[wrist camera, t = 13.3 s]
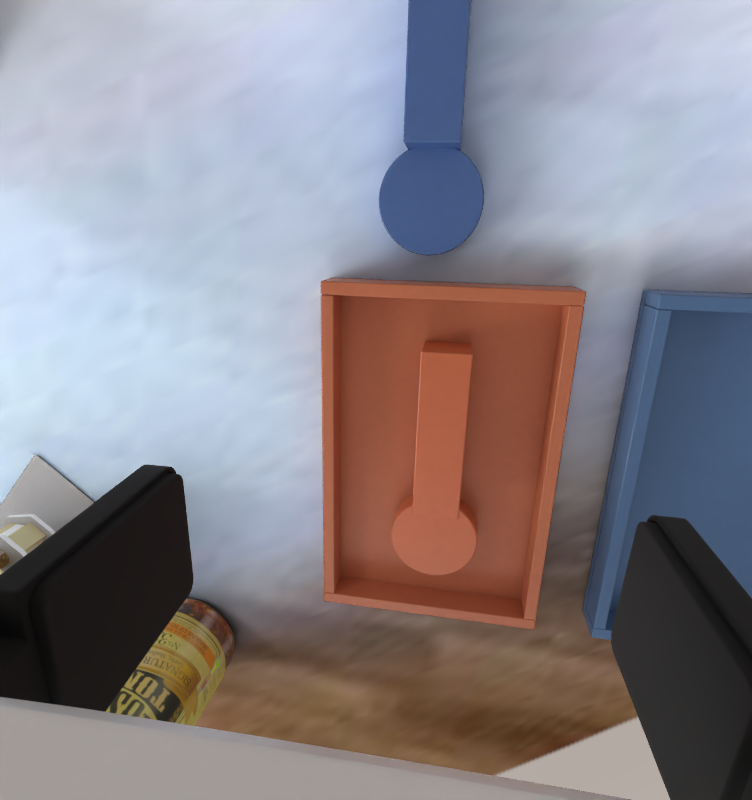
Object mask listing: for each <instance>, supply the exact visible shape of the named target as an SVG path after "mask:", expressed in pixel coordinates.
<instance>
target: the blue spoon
mask: <svg viewBox="0 0 752 800" xmlns="http://www.w3.org/2000/svg"><path fill="white" fill-rule="evenodd" d="M470 11H471V0H409V8H408V35H407V62H406V89H405V116H404V143H405V145H406V147H407V148H408V150H407V151H406V152H404V153H403V154H401V155H400V156H399V157H398V158H397V159H396V160H395V161H394V162H393V163H392V165H391V166H390V167H389V169H388V171H387V172H386V174H385V176H384V179H383V182H382V185H381V189H380V195H379V209H380V215H381V218H382V221H383V224H384V226H385V228H386V230H387V232H388V233H389V235H390V236H391V237H392V238H393V239H394V240H395V241H396V242H397V243H398V244H399V245H400V246H402V247H403V248H405V249H407V250H408V251H411V252H414V253H417V254H422V255H436V254H441V253H445V252H448V251H450V250H452V249H454V248H456V247H457V246H459V245H460V244H461V243H463V242H464V241H465V240H466V239H467V238H468V237H469V236H470V234H471V233H472V232H473V230H474V229H475V227H476V225H477V223H478V221H479V219H480V216H481V213H482V209H483V203H484V191H483V184H482V180H481V177H480V174H479V172H478V170H477V168H476V166H475V165H474V164H473V162H472V161H471V160H470V159H469V158H468V157H467V156H466V155H465V154H464V153H463V152H461V139H462V125H463V111H464V97H465V82H466V68H467V54H468V40H469V25H470Z"/></svg>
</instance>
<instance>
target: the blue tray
mask: <svg viewBox="0 0 752 800" xmlns="http://www.w3.org/2000/svg"><path fill="white" fill-rule="evenodd" d="M652 515H657V516H667V517H677V518H685V519H686V520H687V521H689V523H690V524H691V525H692V526H693V527H694V529H695V530H696V531H697V532H698V534H699V535H700V536H701V537H702V538H703V540H704V541H705V542H706V543H707V544H708V546H709V547H710V548H711V549H712V551H713V552H714V553H715V554H716V555H717V557H718V558H719V559H720V560H721V562H722V563H723V564H724V565H725V566H726V568H727V569H728V570H729V571H730V572H731V574H732V575H733V576H734V577H735V579H736V580H737V581H738V582H739V583H740V585H741V586H742V587H743V588H744V590H745V591H746V592H747V593H748V594H749V596H750V597H751V598H752V294H750V293H724V292H697V291H671V290H643V294H642V299H641V305H640V310H639V315H638V320H637V326H636V331H635V336H634V341H633V347H632V352H631V357H630V363H629V368H628V373H627V378H626V384H625V389H624V394H623V399H622V405H621V410H620V415H619V420H618V426H617V431H616V436H615V442H614V447H613V452H612V457H611V463H610V468H609V473H608V478H607V484H606V489H605V494H604V499H603V505H602V510H601V515H600V520H599V526H598V531H597V536H596V542H595V547H594V552H593V557H592V563H591V568H590V573H589V578H588V584H587V589H586V594H585V599H584V605H583V613H584V616H585V619H586V622H587V625H588V628H589V631H590V634H591V637H593V638H601V639H608V640H611V632H612V627H613V623H614V619H615V614H616V610H617V606H618V602H619V598H620V594H621V590H622V585H623V581H624V577H625V573H626V569H627V565H628V561H629V556H630V552H631V548H632V544H633V540H634V536H635V531H636V528H637V525H638V524H639V522H641V521H642V522H647V520H648V518H649V517H650V516H652Z"/></svg>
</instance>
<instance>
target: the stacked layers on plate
mask: <svg viewBox="0 0 752 800" xmlns="http://www.w3.org/2000/svg"><path fill="white" fill-rule="evenodd" d="M93 503H94V502H93V501H92V500H91V499H89V498H88V497H87V496H86V495H85V494H83V493H82V492H81V491H80V490H78V489H77V488H76V487H75V486H74V485H72V484H71V483H70V482H69V481H68V480H66V479H65V478H64V477H63V476H62V475H60V474H59V473H58V472H57V471H56V470H54V469H53V468H52V467H51V466H50V465H48V464H47V463H46V462H45V461H44V460H42V459H41V458H40V457H39V456H38V455H36V454H35V455H34V456H33V458H32V459H31V461H30V462H29V464H28V465H27V467H26V468H25V470H24V471H23V473H22V474H21V476H20V477H19V479H18V480H17V482H16V483H15V484H14V486H13V487H12V489H11V490H10V492H9V493H8V495H7V496H6V498H5V499H4V501H3V502H2V504H1V505H0V575H1V574H2V573H3V572H5V571H6V570H7V569H8V568H10V567H11V566H12V565H14V564H15V563H16V562H18V561H19V560H20V559H21V558H23V557H24V556H25V555H27V554H28V553H29V552H31V551H32V550H33V549H35V548H36V547H37V546H38V545H40V544H41V543H42V542H44V541H45V540H46V539H48V538H49V537H50V536H51V535H53V534H54V533H55V532H57V531H58V530H59V529H61V528H62V527H63V526H65V525H66V524H67V523H68V522H70V521H71V520H72V519H74V518H75V517H76V516H78V515H79V514H80V513H81V512H83V511H84V510H85V509H87V508H88V507H89V506H91V505H92V504H93Z"/></svg>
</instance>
